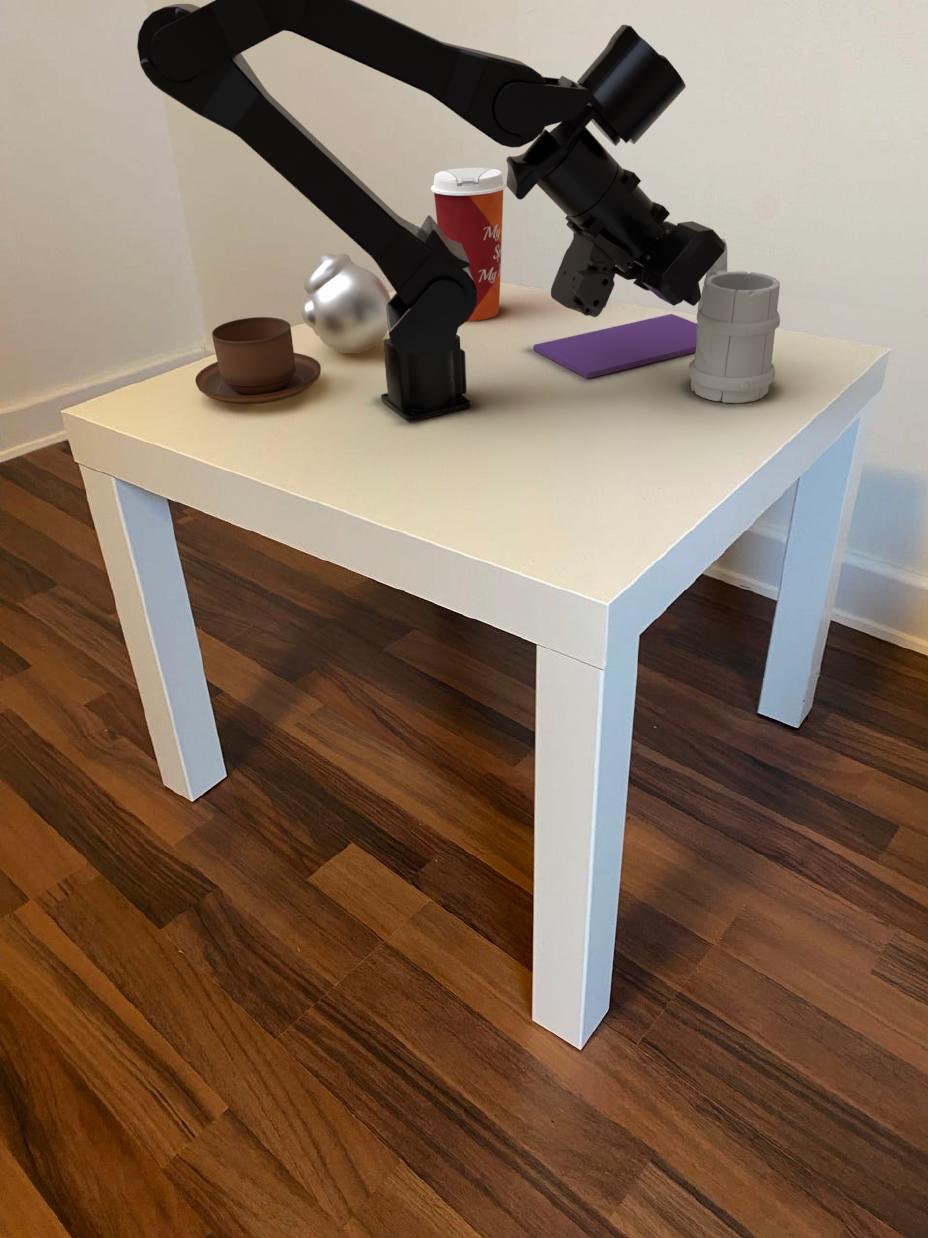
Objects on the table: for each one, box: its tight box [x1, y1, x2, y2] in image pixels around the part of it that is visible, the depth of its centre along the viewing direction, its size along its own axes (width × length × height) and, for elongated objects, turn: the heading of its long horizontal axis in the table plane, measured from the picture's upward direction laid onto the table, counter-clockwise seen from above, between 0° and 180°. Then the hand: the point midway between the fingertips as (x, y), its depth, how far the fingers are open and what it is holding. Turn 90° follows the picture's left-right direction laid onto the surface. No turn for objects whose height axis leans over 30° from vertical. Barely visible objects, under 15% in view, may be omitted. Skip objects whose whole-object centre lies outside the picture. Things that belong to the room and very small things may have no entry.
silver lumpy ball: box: [301, 253, 392, 354], centre depth 101 cm, size 9×10×10 cm
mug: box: [688, 238, 781, 404], centre depth 89 cm, size 8×12×12 cm, turn 10°
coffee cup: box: [430, 167, 507, 322], centre depth 109 cm, size 8×8×15 cm
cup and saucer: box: [194, 316, 322, 406], centre depth 94 cm, size 12×12×6 cm
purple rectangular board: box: [533, 313, 697, 380], centre depth 101 cm, size 18×10×1 cm, turn 118°
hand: (696, 301), depth 91 cm, fingers closed
